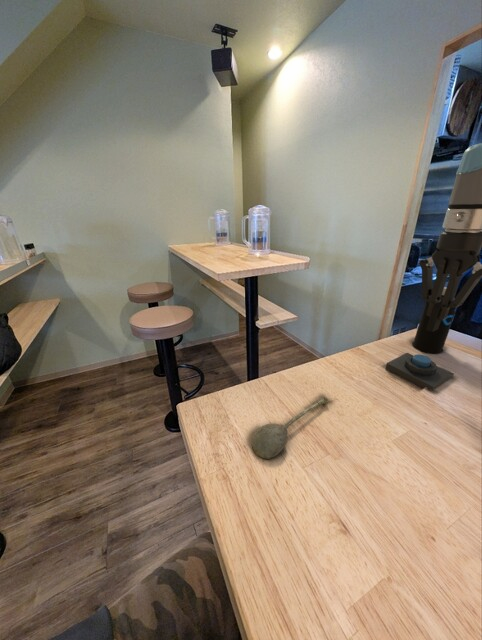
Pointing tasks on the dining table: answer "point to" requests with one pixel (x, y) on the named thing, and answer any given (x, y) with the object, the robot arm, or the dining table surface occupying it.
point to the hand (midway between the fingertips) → (431, 329)
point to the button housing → (418, 372)
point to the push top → (421, 360)
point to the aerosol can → (437, 338)
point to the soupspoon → (275, 435)
